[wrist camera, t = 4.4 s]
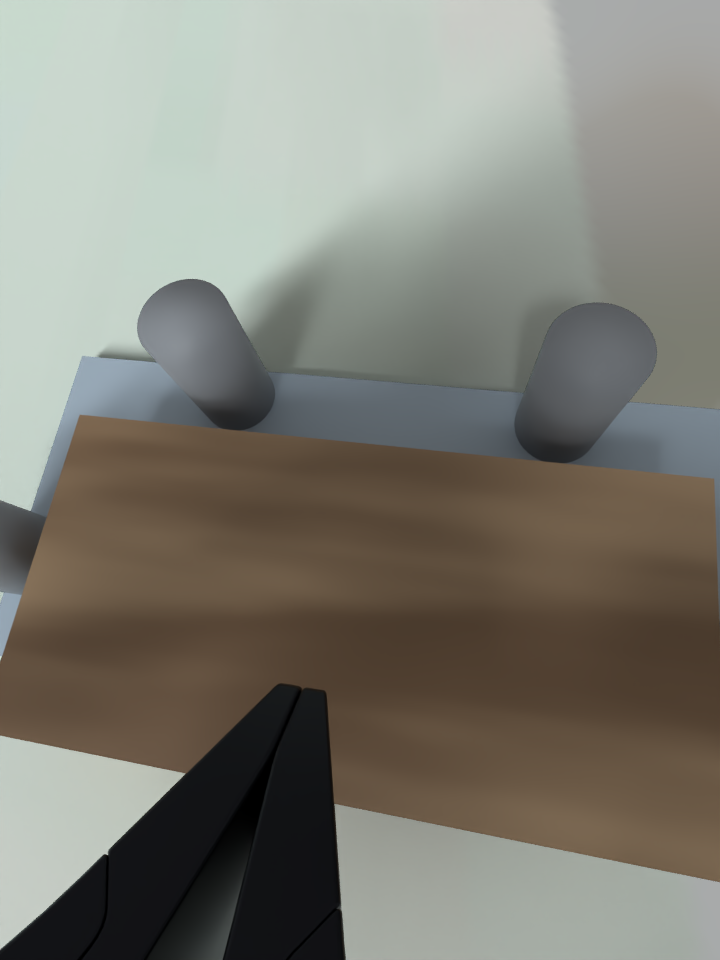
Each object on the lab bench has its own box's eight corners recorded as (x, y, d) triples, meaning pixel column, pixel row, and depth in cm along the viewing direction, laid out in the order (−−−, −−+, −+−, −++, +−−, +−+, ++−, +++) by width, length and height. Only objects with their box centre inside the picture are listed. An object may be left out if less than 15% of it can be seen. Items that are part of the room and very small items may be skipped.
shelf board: (728, 884, 10) (714, 478, 12) (-23, 730, 13) (79, 414, 15) (662, 833, 13) (660, 511, 15) (60, 716, 16) (134, 452, 18)
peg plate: (801, 796, 13) (1005, 873, 9) (-13, 650, 17) (-183, 650, 12) (774, 417, 16) (917, 321, 12) (83, 358, 20) (-24, 266, 15)
